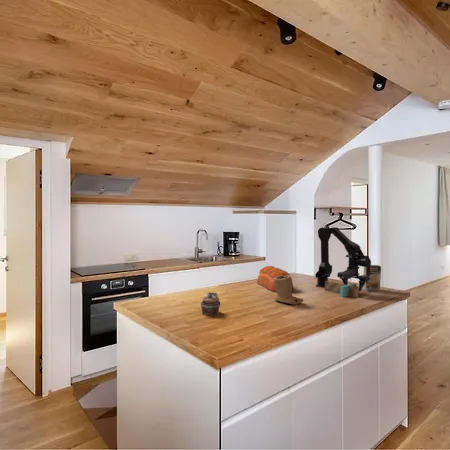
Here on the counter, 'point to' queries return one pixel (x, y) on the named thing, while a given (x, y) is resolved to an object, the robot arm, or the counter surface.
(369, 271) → the coffee box
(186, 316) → the counter surface
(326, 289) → the rail
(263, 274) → the bread
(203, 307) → the cupcake
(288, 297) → the brown hollow boot-shaped piece
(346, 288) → the crossbar
